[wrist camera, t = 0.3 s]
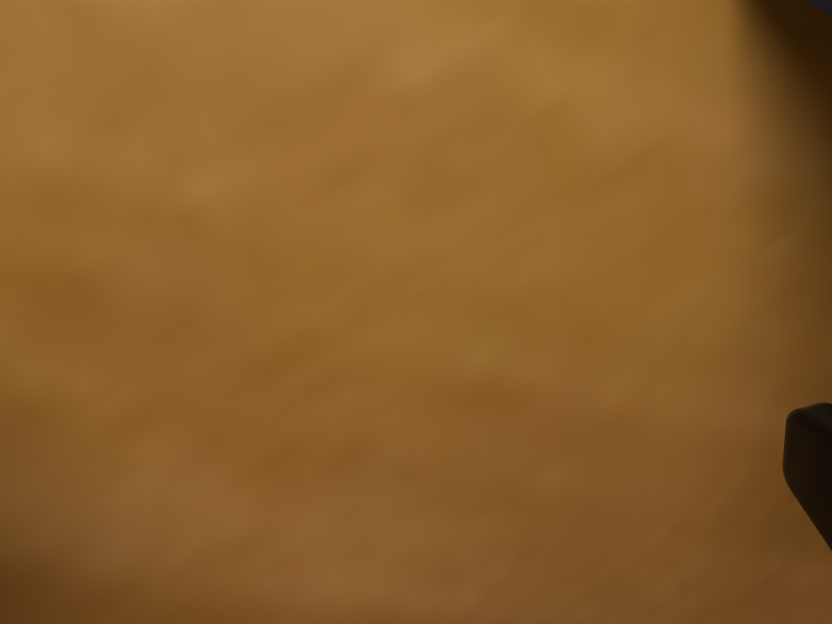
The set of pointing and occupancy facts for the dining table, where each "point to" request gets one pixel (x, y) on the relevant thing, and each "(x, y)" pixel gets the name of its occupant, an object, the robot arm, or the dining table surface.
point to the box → (822, 5)
